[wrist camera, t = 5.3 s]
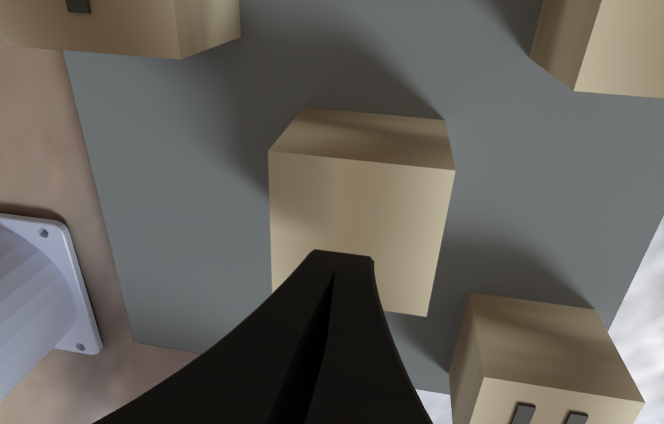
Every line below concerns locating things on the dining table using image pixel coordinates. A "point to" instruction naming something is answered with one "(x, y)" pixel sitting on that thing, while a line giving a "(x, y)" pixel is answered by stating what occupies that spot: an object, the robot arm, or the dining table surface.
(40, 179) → the dining table surface
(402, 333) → the mat
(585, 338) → the block four
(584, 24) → the block seven
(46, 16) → the tan cube
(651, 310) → the dining table surface
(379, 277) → the plain block
